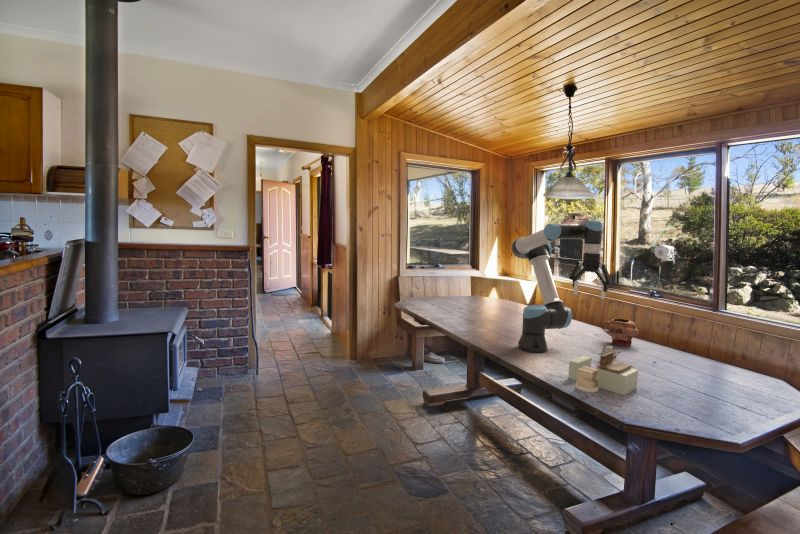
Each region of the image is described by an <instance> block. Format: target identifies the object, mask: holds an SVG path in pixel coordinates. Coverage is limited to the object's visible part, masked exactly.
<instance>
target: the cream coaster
mask: <svg viewBox="0 0 800 534" xmlns="http://www.w3.org/2000/svg"><path fill="white" fill-rule="evenodd" d="M575 389H576V390H578V391H580V392H583V393H587V394H588V393H589V394H592V393H593V394H595V393H597V392H599V389H600V388H599V386H597V387H595V388H593V389H588V388H585V387H581V386H578V385H577V382H576V383H575Z"/></svg>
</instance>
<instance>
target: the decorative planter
mask: <svg viewBox="0 0 800 534" xmlns="http://www.w3.org/2000/svg"><path fill="white" fill-rule="evenodd" d="M605 325H607V326H608V330H606V329H605V328H604V327H605ZM600 327H601V329H602V330H603V331H604V332H605V333H606V335H608V336H610V337H611V340H612V342H611V344H612V345H613V344H614V345H618V346H622V347H623V346H624V347H625V346H626V347H628V346H629V347H630V346H631V345H632V343H633V342H632V341H633V340H632V339H633V337H636V336H637V335H639V333H640V330H639V329H638V328H637V324H636V323H635V322H634V321H632V320H629V319H623V318H613V319H611V320H604V321H602V322H601V323H600Z"/></svg>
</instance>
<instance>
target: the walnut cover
mask: <svg viewBox="0 0 800 534" xmlns="http://www.w3.org/2000/svg"><path fill="white" fill-rule="evenodd" d="M613 354H614V352H608V353H606V354H603V355H601V354H600V358H599V359H600V361H599V364H597V365H596V368H601V369H604V370H608V371H612V372H615V373H621V372H623V371H625V370H627V369H629V368H632V364H628V363H624V362H621V361H617V360H615V361H614V360H613Z"/></svg>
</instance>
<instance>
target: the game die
mask: <svg viewBox="0 0 800 534" xmlns="http://www.w3.org/2000/svg"><path fill="white" fill-rule="evenodd" d="M608 352H614V354H613V360H614V361H616V359H617V356H618V354H619V353H620V351H617V350H616V349H615V347H614V346H613V343H611V344H610V345H604V344H603V348H602V349H601V352H600V353H598V355H600V356H601V355H603V354H606V353H608Z"/></svg>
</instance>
